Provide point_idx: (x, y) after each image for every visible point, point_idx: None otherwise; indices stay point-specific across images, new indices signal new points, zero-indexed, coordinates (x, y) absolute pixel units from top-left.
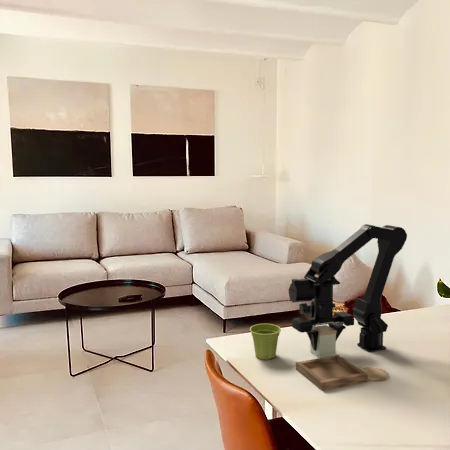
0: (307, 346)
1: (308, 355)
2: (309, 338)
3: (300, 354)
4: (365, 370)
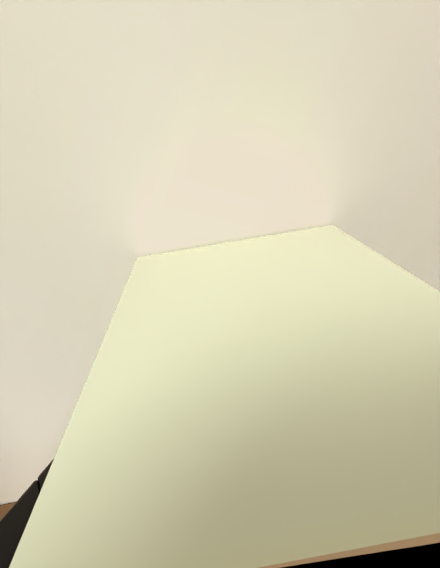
0: (150, 52)
1: (94, 330)
2: (25, 504)
3: (10, 295)
4: None
